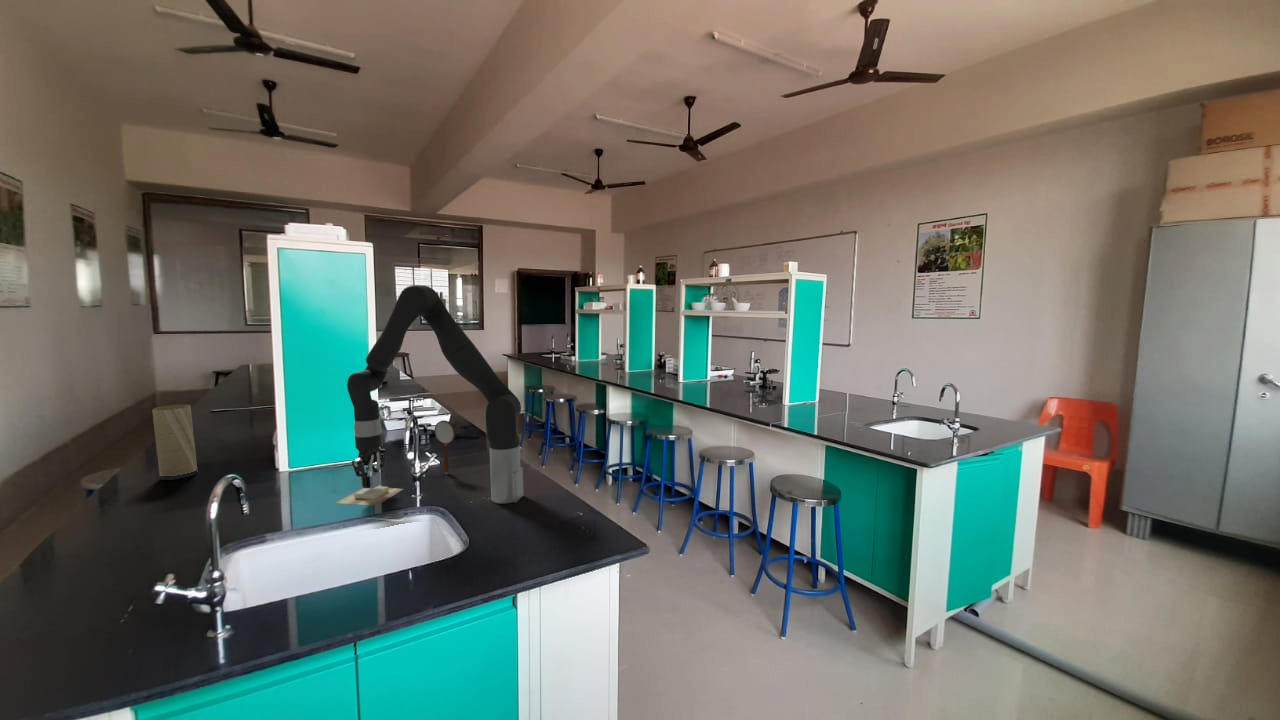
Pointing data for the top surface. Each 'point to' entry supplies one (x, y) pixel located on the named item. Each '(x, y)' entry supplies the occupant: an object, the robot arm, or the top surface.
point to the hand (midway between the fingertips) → (371, 485)
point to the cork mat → (377, 501)
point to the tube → (174, 440)
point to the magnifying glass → (445, 437)
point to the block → (374, 480)
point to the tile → (371, 492)
